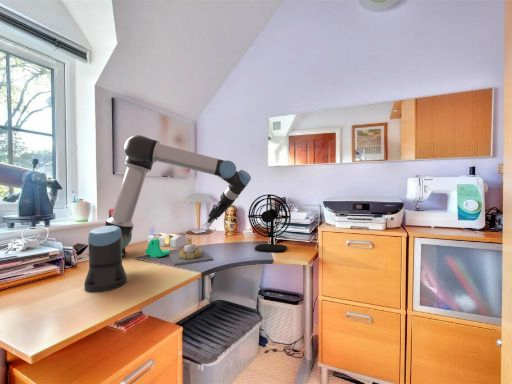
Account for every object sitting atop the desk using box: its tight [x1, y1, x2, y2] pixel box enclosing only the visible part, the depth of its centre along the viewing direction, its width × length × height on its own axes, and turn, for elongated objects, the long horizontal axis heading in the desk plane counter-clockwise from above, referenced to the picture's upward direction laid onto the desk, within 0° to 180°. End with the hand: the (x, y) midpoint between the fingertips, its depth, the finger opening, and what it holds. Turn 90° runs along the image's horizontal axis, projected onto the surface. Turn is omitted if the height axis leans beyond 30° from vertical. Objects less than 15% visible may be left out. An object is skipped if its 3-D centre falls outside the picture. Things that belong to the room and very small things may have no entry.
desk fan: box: [247, 193, 292, 253], centre depth 160 cm, size 27×18×35 cm, turn 73°
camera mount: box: [144, 238, 171, 258], centre depth 149 cm, size 12×8×10 cm, turn 65°
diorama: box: [147, 226, 187, 249], centre depth 175 cm, size 25×10×13 cm, turn 65°
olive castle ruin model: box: [178, 237, 201, 259], centre depth 145 cm, size 16×12×8 cm
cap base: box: [168, 244, 213, 267], centre depth 143 cm, size 20×20×7 cm
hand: (206, 225), depth 144 cm, fingers closed
